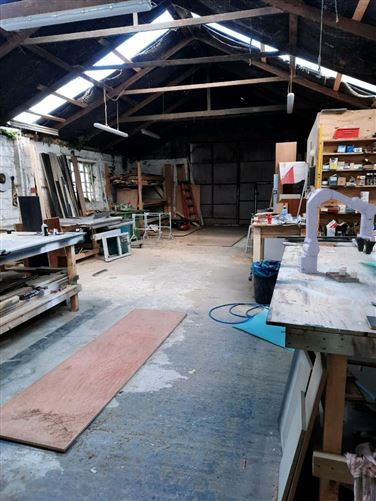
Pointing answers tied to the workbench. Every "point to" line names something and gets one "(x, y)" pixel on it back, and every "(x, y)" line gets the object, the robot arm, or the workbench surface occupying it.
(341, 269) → the breaker mid
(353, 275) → the breaker near
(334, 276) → the panel
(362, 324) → the workbench surface
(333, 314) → the workbench surface
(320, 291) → the workbench surface
